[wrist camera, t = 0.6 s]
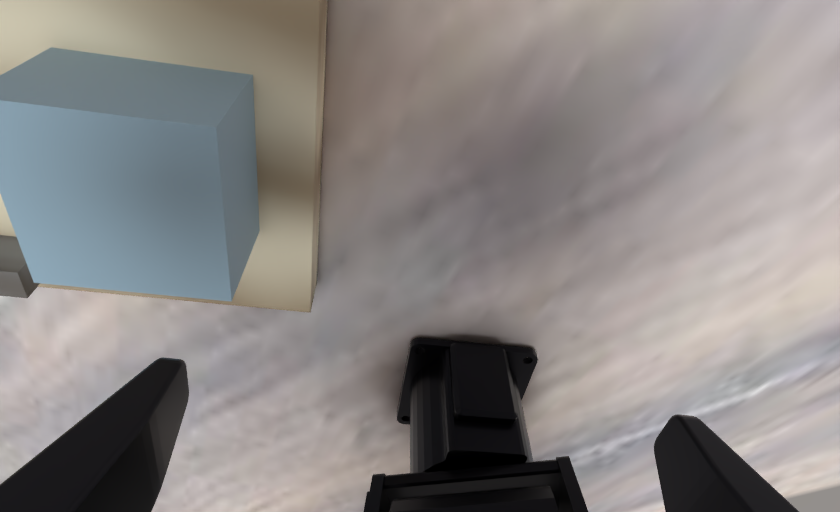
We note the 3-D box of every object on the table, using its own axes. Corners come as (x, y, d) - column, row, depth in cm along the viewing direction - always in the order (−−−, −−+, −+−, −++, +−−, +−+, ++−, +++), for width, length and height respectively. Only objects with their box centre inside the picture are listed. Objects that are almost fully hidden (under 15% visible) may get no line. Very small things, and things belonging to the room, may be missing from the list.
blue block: (259, 231, 20) (231, 301, 17) (94, 213, 20) (33, 282, 17) (252, 74, 17) (215, 127, 14) (51, 47, 16) (-37, 95, 13)
